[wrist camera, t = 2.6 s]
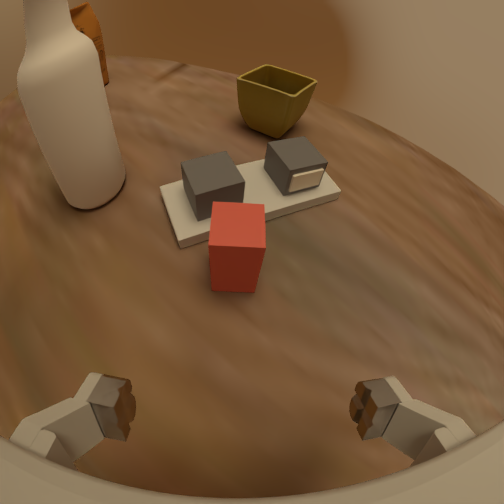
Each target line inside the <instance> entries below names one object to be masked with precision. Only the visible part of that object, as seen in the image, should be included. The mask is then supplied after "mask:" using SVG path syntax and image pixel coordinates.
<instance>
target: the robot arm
mask: <svg viewBox="0 0 504 504" xmlns="http://www.w3.org/2000/svg"><path fill="white" fill-rule="evenodd" d="M131 390H132V385H131V381H130V380H129V379H125V378H120V377H115V376H110V375H105V374H104V375H103V374H99V373H95V372H91V373H89V375H88V376H87V378H86V379H85V381H84V382H83V384H82V385H81V387H80V389H79V390H78V392H77V393H76V395H75V396H74V398H68V399H66V400H64V401H61V402H59V403H57V404H55V405H53V406H51V407H48V408H46V409H44V410H42V411H40V412H37V413H35V414H33V415H31V416H28V417H26V418H24V419H22V421H21V422H20V424H19V425H18V427H17V428H16V430H15V431H14V433H13V434H12V436H11V437H10V439H9V440H7V439H6V438H4V437H2V436H0V504H504V420H502V421H501V422H499V423H498V424H496V425H495V426H493V427H491V428H490V429H488V430H486V431H485V432H483V433H481V434H480V435H478V436H476V435H475V434H474V433H473V432H472V430H471V429H470V428H469V427H468V426H467V424H466V423H465V422H464V421H463V420H462V418H459V417H457V416H454V415H452V414H450V413H447V412H445V411H442V410H440V409H438V408H435V407H433V406H431V405H428V404H426V403H424V402H422V401H419V400H417V399H415V400H413V399H412V398H411V396H410V395H409V394H408V392H407V391H406V390H405V389H404V387H403V386H402V385H401V383H400V382H399V381H398V380H397V378H396V377H394V376H389V377H384V378H379V379H373V380H367V381H360V382H358V383H357V384H356V387H355V391H356V393H357V394H356V395H355V396H353V397H352V398H351V402H350V406H349V412H350V416H351V418H352V420H353V421H354V422H356V423H357V424H358V426H357V428H356V429H357V431H358V433H359V435H360V437H361V439H362V441H363V440H368V439H373V438H378V437H382V438H383V439H384V440H386V441H387V442H389V443H390V444H391V445H393V446H394V447H396V448H397V449H399V450H400V451H402V452H403V453H404V454H406V455H407V456H409V457H410V458H412V459H413V460H414V461H413V463H412V464H411V465H410V467H409V468H407V469H404V470H401V471H398V472H395V473H392V474H389V475H386V476H383V477H380V478H376V479H373V480H369V481H365V482H362V483H358V484H353V485H349V486H345V487H340V488H335V489H330V490H325V491H319V492H312V493H305V494H298V495H289V496H278V497H263V498H212V497H197V496H186V495H177V494H170V493H163V492H157V491H151V490H145V489H140V488H135V487H131V486H126V485H122V484H118V483H114V482H111V481H107V480H103V479H100V478H97V477H93V476H90V475H87V474H84V473H81V472H79V471H78V469H77V468H76V466H75V465H74V463H73V462H74V461H76V460H77V459H78V458H80V457H81V456H82V455H84V454H85V453H86V452H88V451H89V450H90V449H92V448H93V447H94V446H95V445H97V444H98V443H99V442H101V441H102V440H103V439H104V437H106V438H110V439H115V440H120V441H125V442H126V440H127V438H128V435H129V432H130V425H129V423H130V422H131V421H133V420H134V417H135V413H136V401H135V397H134V396H133V395H132V394H131V393H130V392H131Z"/></svg>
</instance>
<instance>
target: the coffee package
mask: <svg viewBox="0 0 504 504" xmlns="http://www.w3.org/2000/svg"><path fill="white" fill-rule="evenodd" d="M69 11H70V15H71V20H72V23H73V24H74V26H75V28H76V29H77V30H78V31H79V32H81V33H83V34H84V35H86V36H87V37H88V38H90V39H91V40H92V41H93V43H94V46H95V48H96V50H97V52H98V56H99V62H100V67H101V73H102V78H103V83H104V85H105V84H107V83H108V82H109V78H108V72H107V66H106V58H105V51H104V45H103V39H102V33H101V29H100V25H99V22H98V20H97V18H96V16H95V14H94V13H93V10H92V8H91V6H90V5H89V3H88V2H85V3H83V4H81V5H79V6H77V7H75V8H73V9H71V10H69Z"/></svg>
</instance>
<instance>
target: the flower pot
mask: <svg viewBox="0 0 504 504" xmlns="http://www.w3.org/2000/svg"><path fill="white" fill-rule="evenodd" d="M316 84H317V80H314V79H312V78H309V77H306V76H303V75H301V74H298V73H294V72H292V71H288V70H285V69H282V68H279V67H276V66H272V65H268V64H267V65H263V66H260V67H258V68H256V69H253V70H251V71H249V72H247V73H245V74H243V75H241V76H239V77H238V78H237V92H238V104H239V109H240V112H241V115H242V117H243V119H244V121H245V122H246V124H247V125H248V126H249V127H250V128H251V129H254V130H256V131H259V132H261V133H264V134H266V135H269V136H271V137H273V138H276V139H278V138H280V137H281V136H282V135H283V134H284V133H285V132H286V131H287V130H288V129H290V128H291V127H292V126H293V125H294V124H295V123H296V122H297V121H298V120H299V118H300V117H301V116H302V115H303V113H304V112H305V110H306V108H307V106H308V104H309V101H310V99H311V96H312V94H313V91H314V89H315V86H316Z"/></svg>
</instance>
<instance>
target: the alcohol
mask: <svg viewBox="0 0 504 504" xmlns="http://www.w3.org/2000/svg"><path fill="white" fill-rule="evenodd" d="M23 6H24V7H23V8H24V24H25V34H26V50H25V55H24V58H23V60H22V62H21V65H20V67H19V71H18V74H17V80H18V81H17V83H18V93H19V96H20V99H21V101H22V104H23V107H24V110H25V112H26V115H27V118H28V120H29V123H30V125H31V128H32V130H33V132H34V135H35V137H36V139H37V142H38V144H39V146H40V148H41V151H42V153H43V155H44V157H45V159H46V161H47V163H48V166H49V168H50V170H51V172H52V174H53V176H54V178H55V180H56V182H57V183H58V185H59V187H60V189H61V191H62V193H63V195H64V197H65V198H66V200H67V202H68V203H69V204H70V205H72V206H73V207H77V208H80V209H94V208H97V207H100V206H102V205H104V204H106V203H107V202H109V201H110V200H111V199H113V198H114V197H115V196H116V195H117V193H118V192H119V191H120V189H121V187H122V185H123V182H124V180H125V175H126V174H125V168H124V164H123V161H122V157H121V154H120V150H119V147H118V143H117V139H116V135H115V131H114V127H113V123H112V119H111V115H110V111H109V107H108V102H107V98H106V93H105V88H104V83H103V78H102V73H101V67H100V62H99V56H98V52H97V50H96V48H95V46H94V43H93V41H92V40H91V39H90V38H88V37H87V36H86V35H84V34H83V33H81V32H79V31H78V30H77V29H76V28H75V26H74V24H73V23H72V20H71V15H70V11H69V6H68V2H67V0H23Z"/></svg>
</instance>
